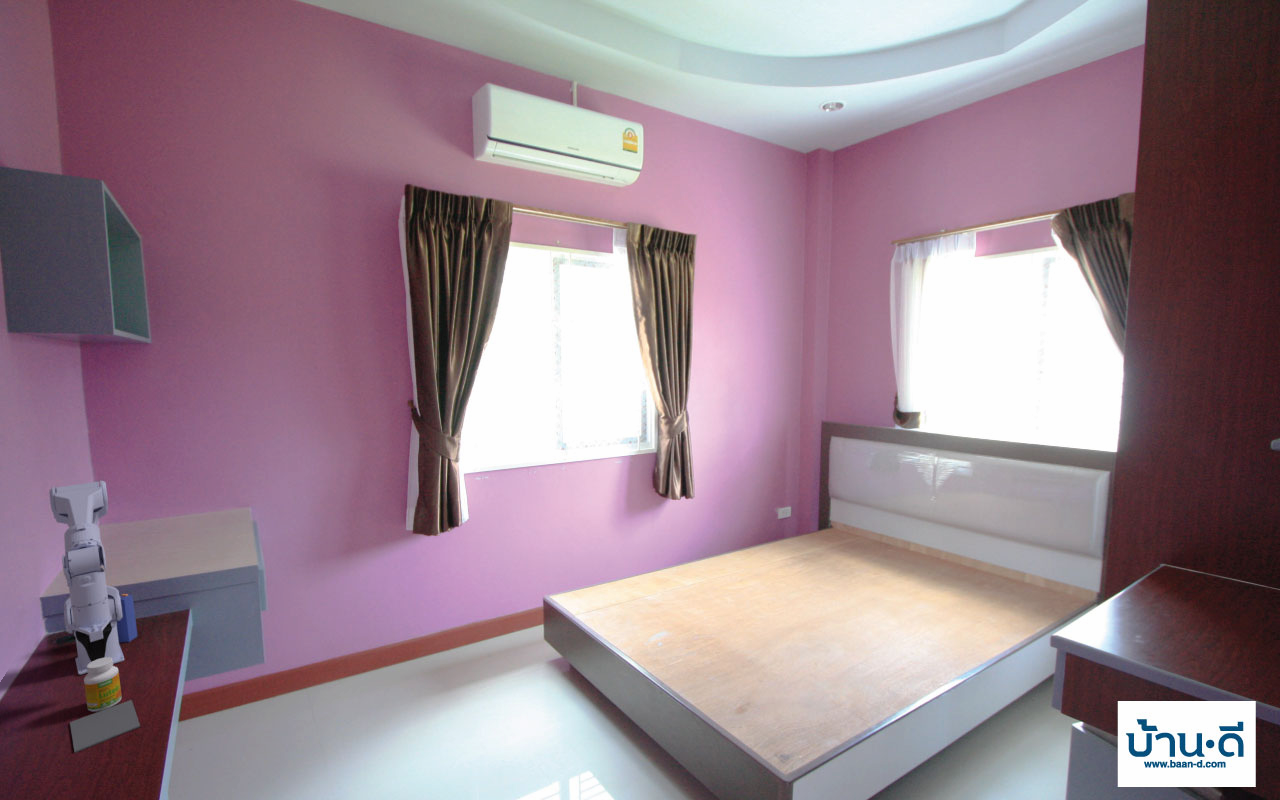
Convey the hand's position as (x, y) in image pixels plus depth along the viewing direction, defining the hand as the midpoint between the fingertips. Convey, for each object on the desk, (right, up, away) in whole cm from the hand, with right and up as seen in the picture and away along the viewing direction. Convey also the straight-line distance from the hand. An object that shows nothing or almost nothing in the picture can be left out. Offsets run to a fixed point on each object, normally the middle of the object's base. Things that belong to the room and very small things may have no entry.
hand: (97, 659), depth 124 cm
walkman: (-16, -5, +22) cm, 28 cm away
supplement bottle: (+4, -9, -3) cm, 10 cm away
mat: (+11, -9, -10) cm, 17 cm away
